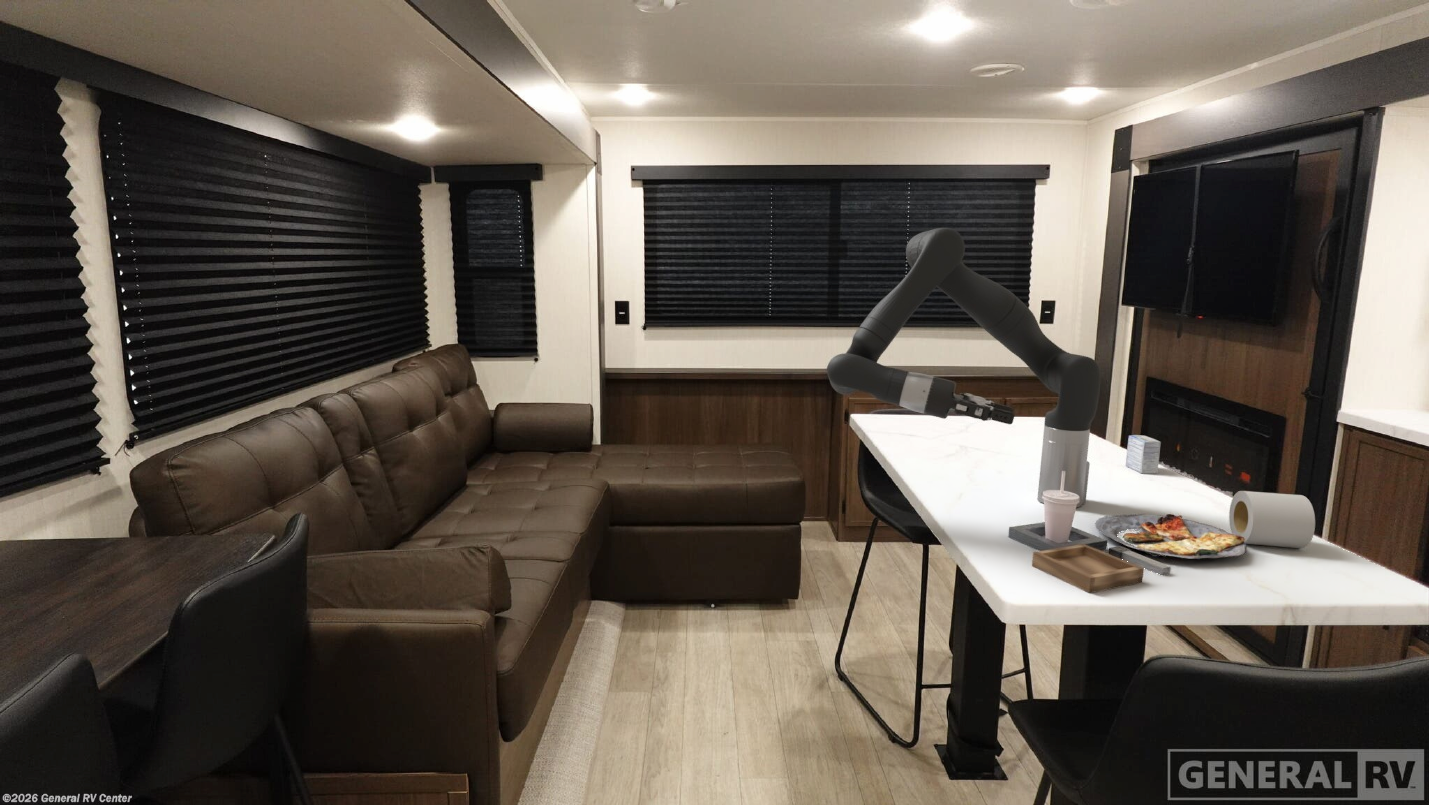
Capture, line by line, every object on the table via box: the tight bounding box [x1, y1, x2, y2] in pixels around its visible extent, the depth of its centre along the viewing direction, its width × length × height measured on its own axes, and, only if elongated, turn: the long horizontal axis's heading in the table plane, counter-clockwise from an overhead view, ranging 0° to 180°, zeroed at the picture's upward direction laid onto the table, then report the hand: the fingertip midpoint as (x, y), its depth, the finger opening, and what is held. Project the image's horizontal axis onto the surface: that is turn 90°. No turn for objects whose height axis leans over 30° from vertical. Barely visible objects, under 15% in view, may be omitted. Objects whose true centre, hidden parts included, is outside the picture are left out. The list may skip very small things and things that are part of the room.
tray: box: [1031, 544, 1145, 594], centre depth 129 cm, size 12×12×2 cm
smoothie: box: [1042, 471, 1080, 543], centre depth 143 cm, size 6×6×14 cm
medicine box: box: [1125, 434, 1162, 475], centre depth 200 cm, size 8×4×9 cm, turn 179°
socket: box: [1007, 521, 1108, 552], centre depth 144 cm, size 12×12×2 cm
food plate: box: [1094, 513, 1248, 560], centre depth 145 cm, size 25×23×4 cm
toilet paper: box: [1228, 490, 1316, 549], centre depth 145 cm, size 10×10×10 cm
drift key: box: [1107, 545, 1172, 576], centre depth 135 cm, size 10×3×2 cm, turn 22°
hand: (1012, 416), depth 144 cm, fingers open, 8 cm apart
